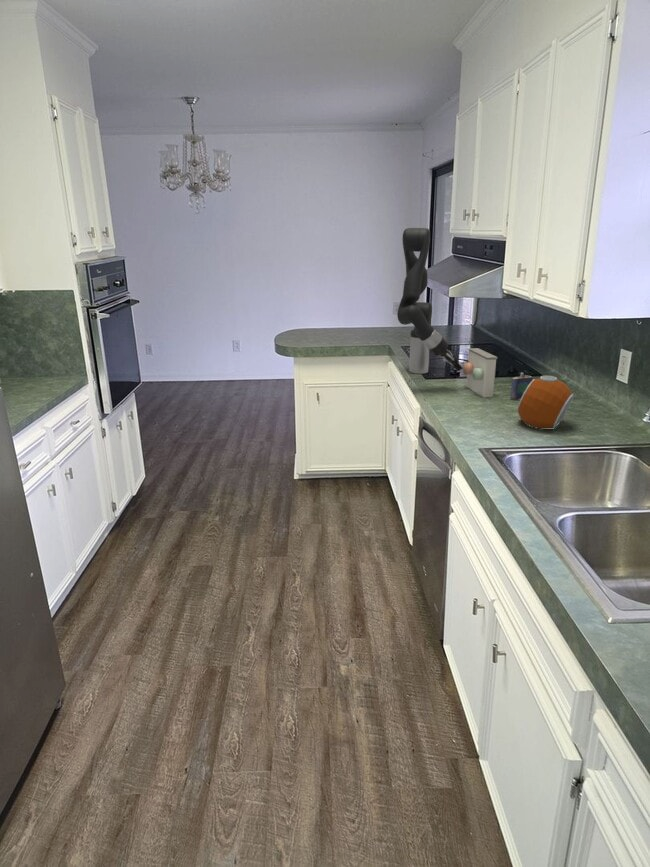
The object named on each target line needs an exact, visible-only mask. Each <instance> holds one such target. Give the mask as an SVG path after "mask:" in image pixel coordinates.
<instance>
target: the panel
mask: <svg viewBox="0 0 650 867" xmlns="http://www.w3.org/2000/svg"><path fill="white" fill-rule="evenodd" d="M467 350H468V360H467V361H468V362H467V363H472V365H473V369H474V368H482V370H483V378H482V380H474V379H473V376H472V374H467V375H466V384H465V385H466V387H467V388H469V389H470V390H471V391H473V392H475V393H476V394H478V395H479V396H481V397H482V398H493V397H494V387H495V377H496V366H497V365H496V364H497V360H498V356H496V355H494V354H492V353H489V352H487V351H485V350H482V349H480V348H478V347H477V348H476V347H474V348H472V347H471V348H470V347H469V348H468V349H467Z"/></svg>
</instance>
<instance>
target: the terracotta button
mask: <svg viewBox="0 0 650 867" xmlns="http://www.w3.org/2000/svg"><path fill="white" fill-rule="evenodd" d="M472 372H473V365H472V363H468V362H464V363H463V365H462V373H463V375H466V376H467V374H472Z"/></svg>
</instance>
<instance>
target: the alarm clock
mask: <svg viewBox="0 0 650 867" xmlns="http://www.w3.org/2000/svg"><path fill="white" fill-rule="evenodd" d="M573 399H574V394H573V393H572V390H571V389H570V387H568V385H566V383H565V382H563V381H561V380H559V379H558V377H557V376H555V375H541V376H540V377H539V378H534V379H533V378H532V381H531V382H530V384H529V385H528V387H527V388H526V390H525V392H524V393H523V395H522V397H521V399H519V402H518V405H517V408H516V411H517V413H518V415H519V417H520V419H521V420H522V421H523V422H524V424H527V425H526V426H528V425H530V426H532V427H531V428H533V427H537V428H555V427H556V425H557V424H558V423H559V422H560V421H561V422H562V421H563V419H564V418H565V416H566V414H567V412H568V410H569V408H570V407H571V404H572V401H573ZM530 426H529V427H530ZM537 428H536V429H537ZM556 428H557V427H556ZM556 428H555V429H556Z"/></svg>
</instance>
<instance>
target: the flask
mask: <svg viewBox="0 0 650 867" xmlns="http://www.w3.org/2000/svg"><path fill="white" fill-rule="evenodd" d="M532 380H533V376H531V375H528V374H527V375H526V374H525V375H524V372H520V375H519V376H515V377H511V385H510V386H511V389H510V396H509V398H510V400H512V399H513V400H514V399H517V400H520V399H519V398H521V397H522V395H523V393H524V392H525V390H526V388H527V387H528V385H529V384H530V382H531V381H532Z"/></svg>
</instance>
